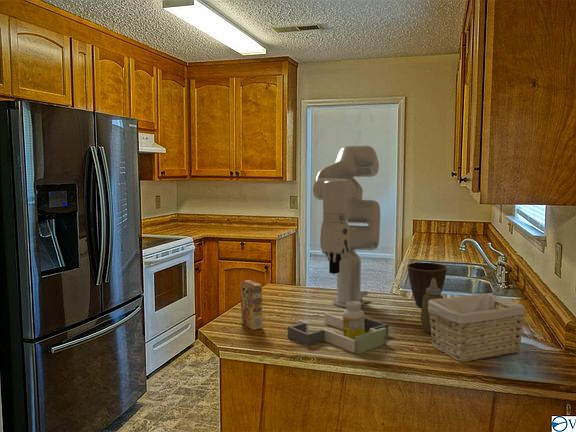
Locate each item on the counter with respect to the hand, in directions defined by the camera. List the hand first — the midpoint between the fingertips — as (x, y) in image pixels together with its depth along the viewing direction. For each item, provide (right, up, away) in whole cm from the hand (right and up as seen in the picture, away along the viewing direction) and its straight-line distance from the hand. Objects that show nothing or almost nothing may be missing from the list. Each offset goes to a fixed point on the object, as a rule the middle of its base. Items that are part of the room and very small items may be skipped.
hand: (334, 272), depth 162 cm
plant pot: (+39, -17, +31) cm, 53 cm away
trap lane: (+2, -20, -3) cm, 21 cm away
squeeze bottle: (+33, -20, +2) cm, 39 cm away
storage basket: (+41, -22, -15) cm, 48 cm away
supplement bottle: (+5, -21, -9) cm, 24 cm away
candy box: (-28, -20, +8) cm, 35 cm away
